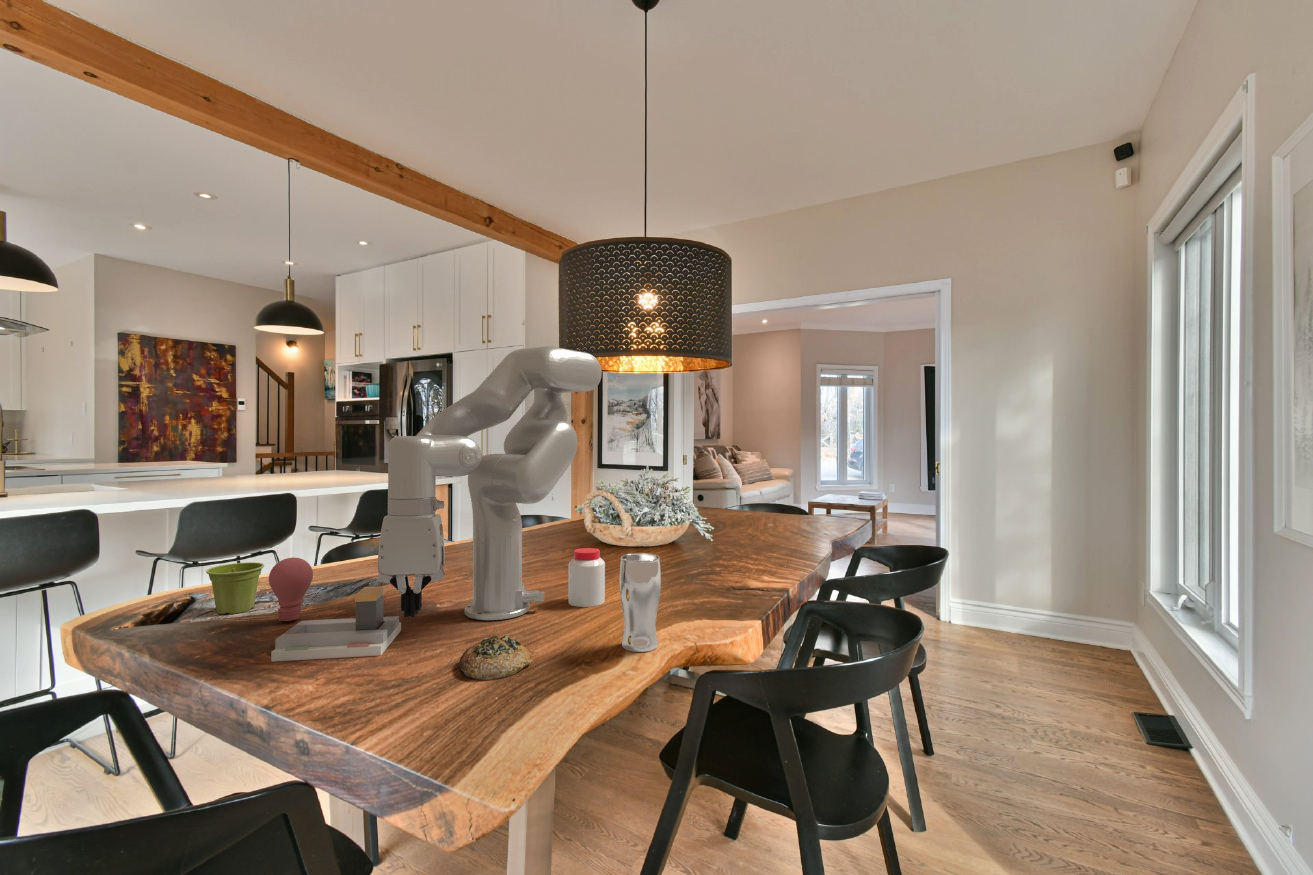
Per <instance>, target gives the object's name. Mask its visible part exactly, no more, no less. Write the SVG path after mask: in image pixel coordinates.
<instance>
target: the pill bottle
mask: <svg viewBox="0 0 1313 875" xmlns="http://www.w3.org/2000/svg"><path fill="white" fill-rule="evenodd" d="M600 550H601V549H599V548H593V547H582V548H581V547H580V548H576V549H574V550H573V558H572V559H570V560H569V562H568V571H567V572H568V574H567V575H568V581H567V585H568V588H567V592H568V596H567V597H568V599H567V600H568V602H567V603H568V604H569V605H570V606H572V607H576V608H592V607H593V608H594V607H599V606H601V605H603V604H604V603H605V601H606V562H605V560H604V559H603V558H601V556H600V555H601V554H600V553H601V552H600Z"/></svg>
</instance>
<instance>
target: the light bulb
mask: <svg viewBox="0 0 1313 875" xmlns="http://www.w3.org/2000/svg"><path fill="white" fill-rule="evenodd" d="M313 577H314V570H313V568H312V566H311V564H310V563H309V562H308V561H306V560H305V559H303V558H301V557H287V558H284V559H282V560H280V561H278V562H277V563H275V564H274V566H273V567H272V568H271V569H270V572H269V575H268V584H269V587H270V588H271V590H272V592H273V593H274V594H275V597H276V598H277V599H278V606H279V608H278V609H277V617H278V619H277V620H279V621H281V622H284V621H285V622H292V621H294V620H297V619H299V618H300V617H301V609H302V604H303V603H304V602H305V599H304V597H305V595H306V593H307V591H308V590H309V588H310V586H311V583H312V581H313Z"/></svg>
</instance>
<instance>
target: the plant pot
mask: <svg viewBox="0 0 1313 875" xmlns="http://www.w3.org/2000/svg"><path fill="white" fill-rule="evenodd" d="M264 567H265V563H261V562H255V561H253V562H249V561H248V562H237V563H236V562H235V563H227V564H220V565H217V566H213V567H210V568H208V569H206V570H205V574H207V575H208V577H209V580H210V581H211V586H212V593H213V599H214V604H215V611H216V614H219V615H225V614H227V613H228V614H231V615H237V614H242V613H246V612H249V611H250V610H251V609H254V608H255V602H256V596H257V589H258V586H259V579H260V575H261V573H262V569H263V568H264Z"/></svg>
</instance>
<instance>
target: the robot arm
mask: <svg viewBox="0 0 1313 875" xmlns="http://www.w3.org/2000/svg"><path fill="white" fill-rule="evenodd" d="M601 379H602V366H601V364H600V362H599V361H598V359H597V358H596V357H595V356H594V355H592V354H591V353H588V352H585V351H578V350H574V349H568V348H562V347H555V346H537V347H528V348H520V349H514V350H513V351H511V352H509V353H508V354H507V355H506V356H505V357H504V358H503V359H502V361H501V362H500V363H499V364H498V365H497V366H496V367H495V368H494V369H493V370H492V372H490V374H489V375H488V376H487V377H485V379H484V380H483V381H482V382H481V384H480V385H479V386H478V387H477V388H476V389H474V390H473V391H472V392H470V393H468V394H467V395H465V396H463V397H461V398H460V399H459V400H457V401H455V402H454V403H453V404H451V405H449V406H448V407H446V408H444V409H442V411H440V412H439V413H437V414H436V415H435V416H434V417H433V418H431V419H430V420H429V421H428V422H427V423H426V424H425V425H424V426H423V427H422V428H421V430H420V431H418V432H417V434H416V435H415V436H414V435H412V436H411V435H404V436H403V435H401V436H399V435H398V436H395V437H393V438H392V437H391V439H390V440H389V442H388V446H387V447H388V448H387V450H388V451H387V453H388V456H387V459H388V460H387V464H388V465H387V466H388V467H387V472H388V473H387V515H385V516H384V517H383V520H382V525H381V529H380V536H379V541H378V543H379V544H378V555H377V570H378V575H377V581H378V582H379V583H385V584H391V585H392V586H393V587H394V588H395V589H396V590H397V591H398V593H399V594H400V611H401V612H403V618H409V617H410V618H416V616H417V614H418V613H419V612H420V611H421V610H422V603H423V602H422V597H423V596H422V594H423V593H422V591H423V589H425V588H426V586H428V585H429V584H431V583H434V582H437V581H441V580H443V579H444V578H445V576H446V575H445V571H444V570H445V569H444V567H445V566H444V565H445V563H446V562H445V560H446V559H445V557H446V554H445V553H446V552H445V540H444V539H445V538H444V527H443V522H442V517H441V514H440V513H439V514H438V513H436V512H437V511H438V510H440V509H442V510H443V509H444V508H445V501H444V500H439V499H437V495H436V490H437V488H436V486H437V485H436V484H437V482H436V480H437V479H436V477H437V476H441V477H442V476H443V477H455V478H458V477H459V478H461V477H465V476H467V485H468V486H467V487H468V493H469V495H470V496H469V497H470V501H471V502H470V503H471V510H472V602H469V603H468V604H466V605H465V606H464V609H463V610H464V615H465V616H466V617H468V618H470V619H472V620H473V619H474V620H477V621H478V620H480V621H499V620H508V619H512V618H513V619H514V618H517V617H519V616H522V615H524V614H526V613H527V612H529V610H530V607H531V606H530V603H531V602H532V603H533V602H535V603H540V602H541V603H544V602H545V591H539V590H538V589H537V590H527V589H525V583H523V578H522V577H523V573H522V572H523V569H522V568H523V522H522V515H521V512H520V511H519V508H518V507H519V506H518V505H517V504H524V505H525V504H526V505H531V504H532V505H533V504H536V503H539V502H541V501H543V500H544V499H545V498H546V497H547V496H548V495H549V494H550V493H551V491H552V490H553V489H554V487H556V485H557V483H558V482H559V481H560V479H561V478H562V476H564V474H565V472H566V471H567V470H568V468H569V467H570V466H571V464H572V463H573V461H574V459H575V457H576V454H577V450H578V441H579V440H578V435H577V432H576V430H575V428H574V427H573V425H571V424H570V423H568V422H567V421H568V410H567V407H566V405H565V402H564V401H565V400H564V397H563V393H565V394H567V393H584V392H586V393H587V392H590V391H593V390H594V389H595V388H597V387H598V386H599V384H600V383H601ZM532 391H533V393H534V394H533V395H534V396H533V397H534V399H533V403H532V404H531V406H530V407H529V409H528V410H527V411H526V412H525V413H524V415H522V417H520V419H519V420H518V421H517V422H516V424H514V426H513V427H512V428H511V429H510V430H509V432H508V434H506V436H505V439H504V442H503V450H504V453H490V454H485V455H482V449H481V447H480V446H479V444H478V443H477V442H476V441H475V440H474V439H472V438H470V437H469V436H471V435H473V434H476V433H478V432H480V431H484V430H487V429H490V428H493V427H495V426H497V425H500V424H501V423H504V422H506V421H507V420H509V419H510V418H511V417H512V416H513V415H514V413H515V412H516V411H517V410H518V408H519V407H520V406H521V404H522V403H523V402H524V401H525V399H527V397H528V396H529V394H530V393H531V392H532ZM410 576H415V577H414V582H413V588H412V587H411V586H410V585H411V584H410V578H409V577H410Z"/></svg>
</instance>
